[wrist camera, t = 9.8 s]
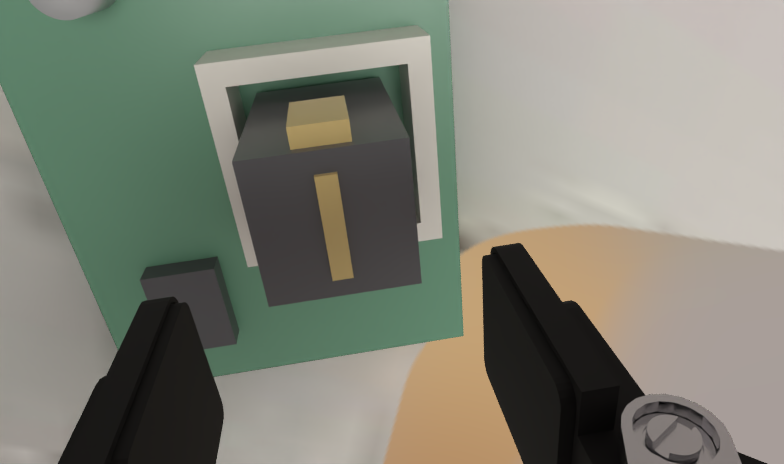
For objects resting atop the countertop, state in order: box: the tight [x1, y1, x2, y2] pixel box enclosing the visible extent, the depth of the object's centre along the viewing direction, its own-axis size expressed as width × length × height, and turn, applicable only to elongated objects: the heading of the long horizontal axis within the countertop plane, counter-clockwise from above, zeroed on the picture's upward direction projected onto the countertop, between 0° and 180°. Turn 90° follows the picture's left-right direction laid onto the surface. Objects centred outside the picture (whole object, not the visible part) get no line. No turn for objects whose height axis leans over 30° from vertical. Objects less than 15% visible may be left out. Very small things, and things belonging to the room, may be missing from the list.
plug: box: [232, 77, 422, 307], centre depth 18 cm, size 5×4×7 cm
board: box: [0, 0, 463, 377], centre depth 21 cm, size 22×16×4 cm
